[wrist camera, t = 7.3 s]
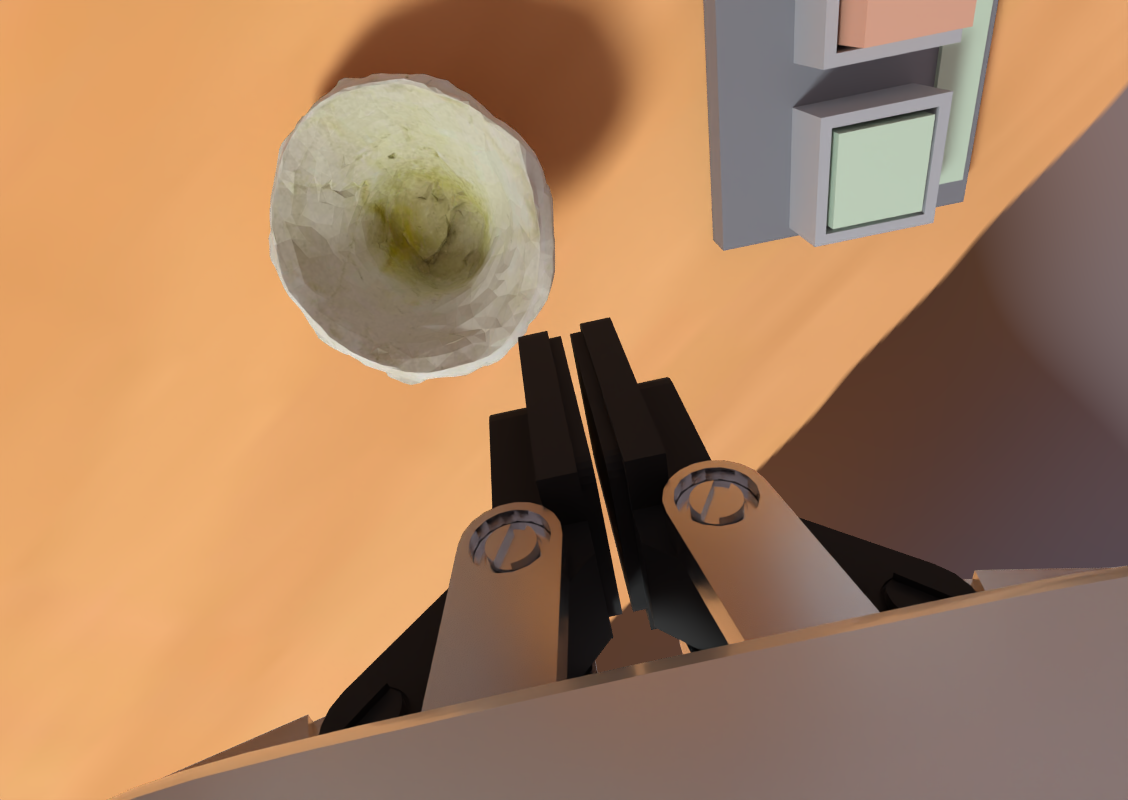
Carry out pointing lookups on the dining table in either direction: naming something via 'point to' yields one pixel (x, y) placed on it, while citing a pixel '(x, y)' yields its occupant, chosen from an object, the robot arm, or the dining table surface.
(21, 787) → the dining table surface
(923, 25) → the terracotta button
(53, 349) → the dining table surface
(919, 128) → the green button
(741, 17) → the button board
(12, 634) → the dining table surface
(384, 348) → the bowl
